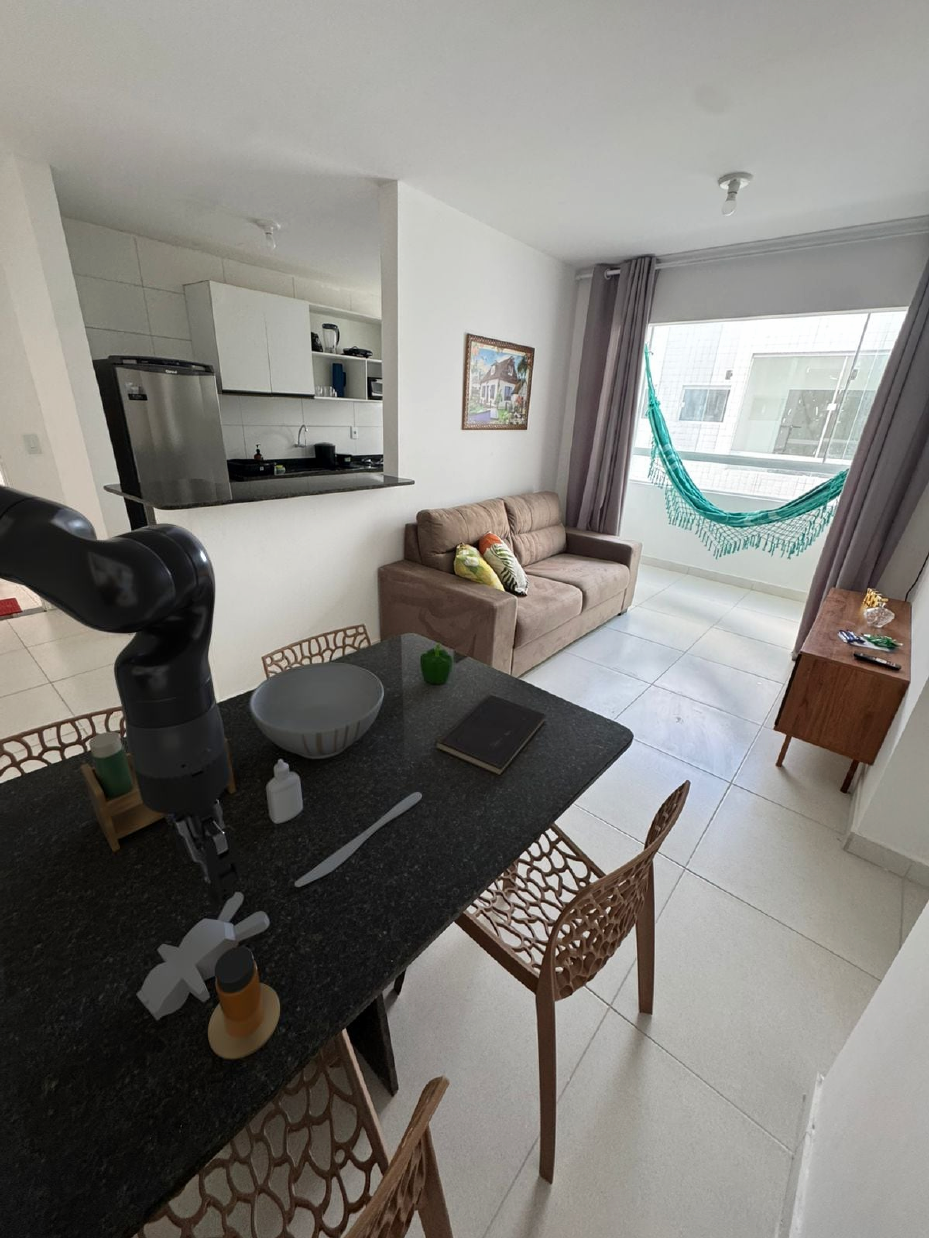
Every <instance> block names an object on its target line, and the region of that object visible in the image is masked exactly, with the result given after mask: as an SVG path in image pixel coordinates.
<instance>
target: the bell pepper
mask: <svg viewBox="0 0 929 1238" xmlns="http://www.w3.org/2000/svg"><path fill="white" fill-rule="evenodd" d="M441 646H442V643H440V642H439V643H437V644H436V646H435V647H432V648H431V649H429V650H427V651H426V653H421V655H420V657H419V658H420V659H419V660H420V661H419V662H420V663H419V664H420V669H421V674H422V677H423V680H424V682H426V683H427V684H429V685H434V684H436V685H443V684H446V683H447V681H448V680H449V678H450V675H451V672H452V668H453V657H452V655H451V654H449V653H448V652H447V650H445V649H444V648H442V649H441Z"/></svg>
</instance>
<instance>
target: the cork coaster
mask: <svg viewBox="0 0 929 1238" xmlns="http://www.w3.org/2000/svg"><path fill="white" fill-rule="evenodd" d="M260 986H261V992H262V997H263V1003H264V1017H263V1019H262V1021H261V1023H260V1025H259V1026H258V1027H257V1028H256V1030H254V1031H253V1032H252V1033H251V1034H249V1035H247V1036H244V1037H239V1038H237V1037H233V1036H231V1035H229V1034H228V1032H227V1031H226V1028H225V1024H224V1019H223V1015H222V1011H221V1007H220V1003H218V1004H217V1006H216V1007H215V1008H214V1011H213V1012H212V1014H211V1016H210V1018H209V1022H208V1026H207V1038H208V1044H209V1045H210V1048H211V1049H212V1051H213V1052H214V1053H215V1054H216V1055H217V1056H218V1057H219V1058H222V1059H226V1060H240V1059H242V1058H246V1057H248V1056H251V1055H252V1054H254V1053H255V1052H257V1051H258V1050H259V1049H261V1048H262V1047H263V1046H264V1045H265V1044H266V1043H267V1042H268V1040H269V1039H270V1038H271V1037H272V1035H273V1033H274V1032H275V1030H276V1029H277V1026H278V1023H279V1019H280V1016H281V1015H280V1014H281V1004H280V998H279V996H278V994H277V992H276V991H275V990H274V989H273V988H272V987H271V986H269V985H268V984H265V983H262V982H260Z"/></svg>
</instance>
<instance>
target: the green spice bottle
mask: <svg viewBox="0 0 929 1238" xmlns="http://www.w3.org/2000/svg"><path fill="white" fill-rule="evenodd" d="M88 745H89V749H90V757H91V761H92V764H93V766H94V767H95V771H96V774H97V777H98V780H99V784H100V787H101V789H102V791H103V793H104V797H106V798H117V797H120V796H123V795H125V794H127V793H128V792H130V791H131V790H132V789H133V787H134V781H133V777H132V774H131V770H130V766H129V763H128V759H127V755H126V754H127V753H126V748H125V745H124V743H123V742H122V739H121V736H120V734H119V733H118V732H116V731H107V732H105V731H104V732H102V733H99V734H97V735H95V736H93V737H92V738H91V739H90V740H89V742H88Z"/></svg>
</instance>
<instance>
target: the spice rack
mask: <svg viewBox="0 0 929 1238" xmlns="http://www.w3.org/2000/svg"><path fill="white" fill-rule="evenodd" d="M228 741H229V740H228V739H227V738H226V737H225V742H226V748H227V754H228V761H229V767H230V780H229V782H228V785H227V786H226V788H225V790H227V791H228V792H229V794H230V795H232V794H234V793H237V790H236V782H235V777H234V771H233V765H232V760H231V753H230V748H229V742H228ZM126 755H127V759H128V763H129V766H130V770H131V774H132V777H133V781H134V787H133V789H132V790H131V791H130V792H128V793H127V794H125V795H123V796H120V797H117V798H106V797H104V793H103V791H102V789H101V787H100V784H99V780H98V777H97V774H96V771H95V767H94V765H93V766H90V765H89V763H84V764H81V765H80V770H81V772H82V776H83V780H84V782H85V786H86V789H87V792H88V795H89V798H90V801H91V805H92V807H93V810H94V814H95V818H96V820H97V823H98V825H99V826H100V829H101V830H102V832H103V834H104V836H105V838H106V841H107V842H108V845H109V846H110V848H111V850H112V852H114V853H115V852H117V851H118V850H121V847H120V843H119V840H121V839H122V838H125V837H127V836H128V835H130V834H132V833H134V832H137V831H139V830H141V829H143V828H145V827H147V826H149V825H151V824H153V823H155V822H157V821H159V820H162V819H163V818H165V815H164V813H158V812H155V811H153V810H151V809H149V808H148V807H147V806H146V805H145V804H144V803H143V801H142V799H141V795H140V791H139V787H138V783H137V779H136V775H135V772H134V768H133V764H132V760H131V756H130V752H129V751H128V752H127V753H126Z"/></svg>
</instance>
